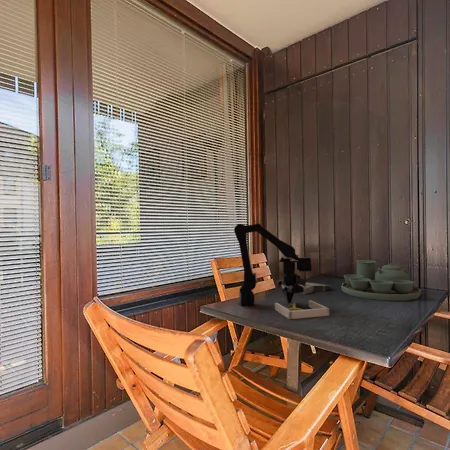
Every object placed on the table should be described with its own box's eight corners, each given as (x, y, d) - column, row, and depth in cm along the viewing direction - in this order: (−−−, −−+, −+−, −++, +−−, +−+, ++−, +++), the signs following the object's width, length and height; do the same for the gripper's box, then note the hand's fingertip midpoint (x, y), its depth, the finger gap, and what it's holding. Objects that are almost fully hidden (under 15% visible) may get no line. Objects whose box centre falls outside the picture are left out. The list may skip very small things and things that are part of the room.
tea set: (327, 292, 176) (327, 263, 176) (364, 283, 201) (363, 258, 201) (401, 306, 145) (400, 271, 145) (433, 294, 169) (433, 264, 169)
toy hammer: (288, 277, 205) (331, 283, 184) (288, 283, 205) (331, 289, 184) (267, 282, 188) (311, 289, 167) (267, 289, 188) (311, 296, 167)
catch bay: (289, 319, 126) (289, 311, 126) (274, 309, 141) (274, 303, 141) (329, 315, 130) (329, 308, 130) (311, 306, 145) (311, 300, 145)
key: (294, 306, 147) (294, 301, 147) (304, 313, 134) (304, 309, 134) (280, 307, 146) (280, 302, 146) (288, 314, 133) (288, 309, 133)
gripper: (314, 273, 140) (314, 307, 140) (295, 267, 158) (295, 298, 158) (292, 274, 137) (292, 309, 137) (275, 268, 155) (275, 299, 155)
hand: (289, 303), depth 147 cm, fingers closed
